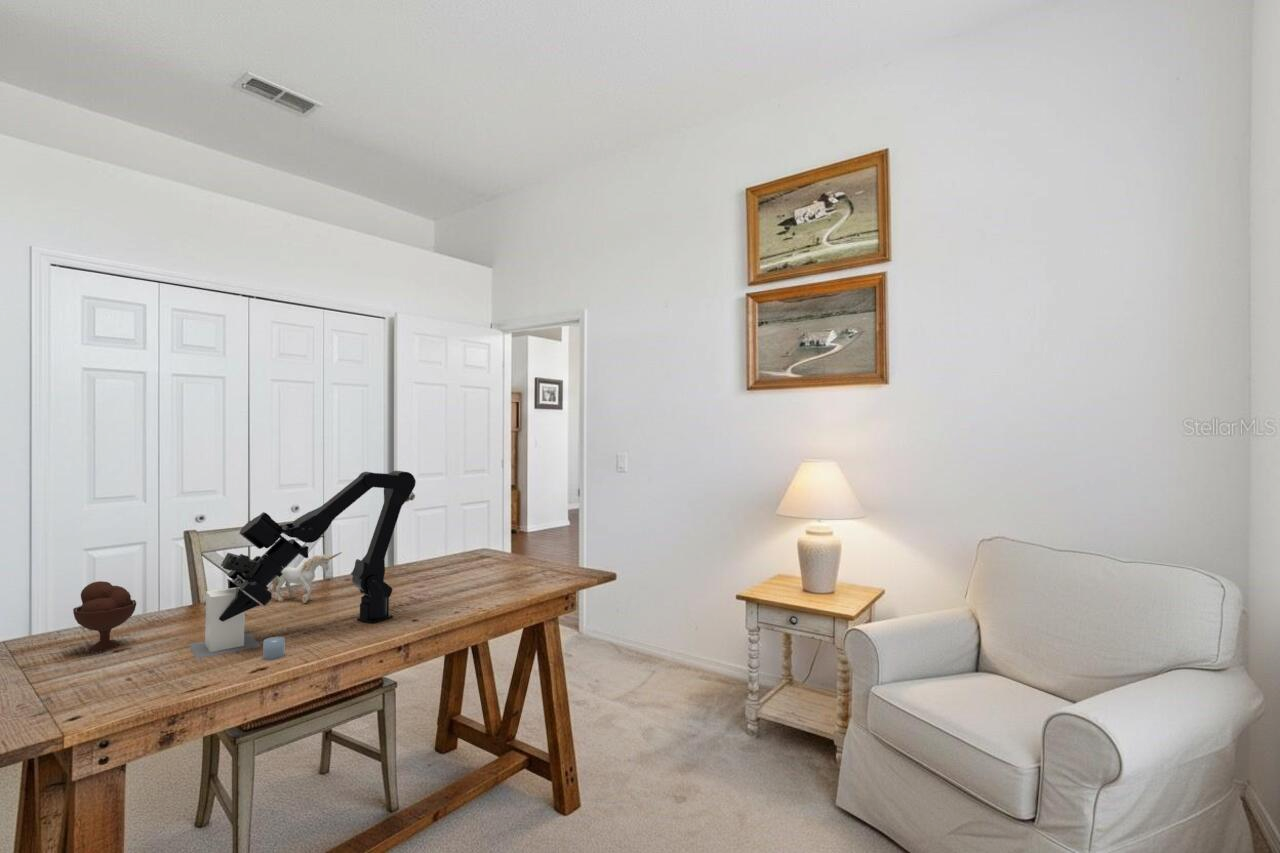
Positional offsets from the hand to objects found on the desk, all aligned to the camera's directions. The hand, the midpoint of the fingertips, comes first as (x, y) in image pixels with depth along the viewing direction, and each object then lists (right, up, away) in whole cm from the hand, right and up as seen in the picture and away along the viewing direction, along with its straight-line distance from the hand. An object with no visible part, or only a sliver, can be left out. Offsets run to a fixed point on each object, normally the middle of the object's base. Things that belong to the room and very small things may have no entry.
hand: (217, 616), depth 140 cm
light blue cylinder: (+16, -7, -5) cm, 18 cm away
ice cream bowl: (-25, -7, -1) cm, 26 cm away
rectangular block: (+1, -7, +1) cm, 7 cm away
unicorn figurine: (-2, -8, +42) cm, 42 cm away
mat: (+1, -7, +1) cm, 7 cm away
